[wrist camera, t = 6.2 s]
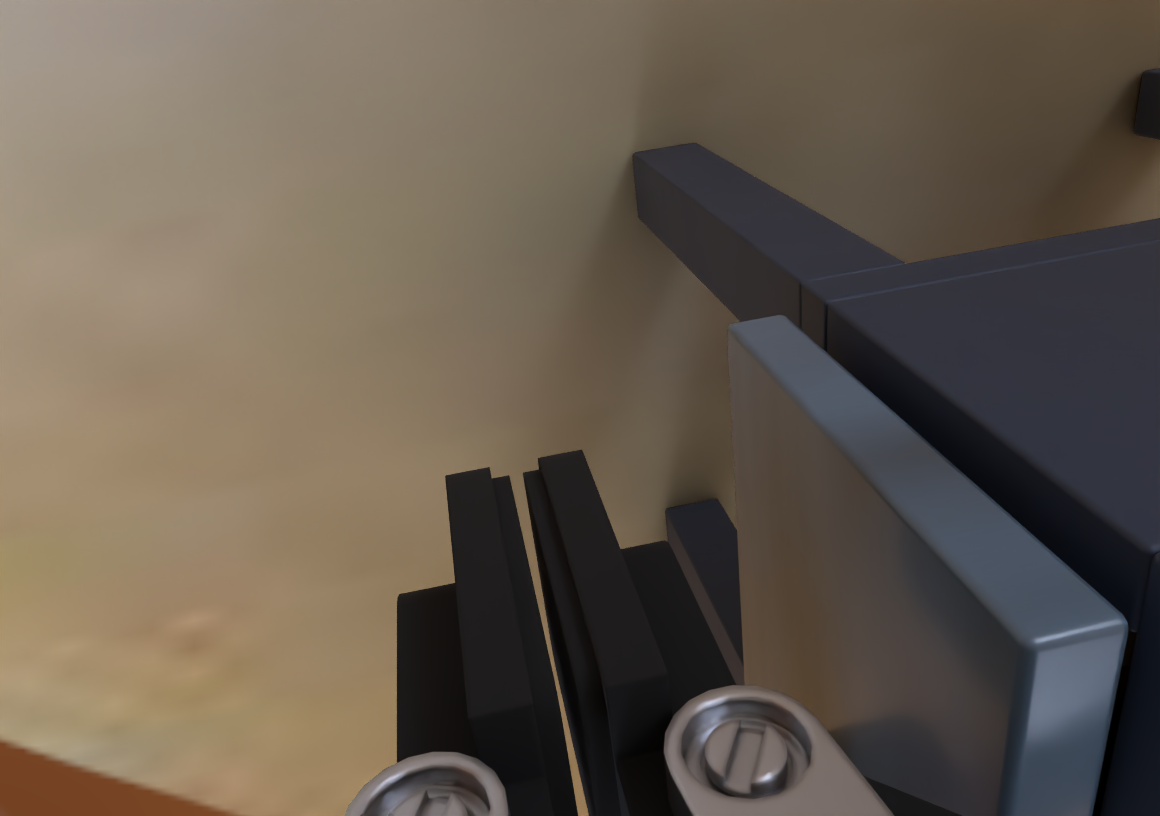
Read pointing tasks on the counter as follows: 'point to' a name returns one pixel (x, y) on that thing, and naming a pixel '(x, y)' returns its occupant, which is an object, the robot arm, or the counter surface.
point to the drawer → (911, 598)
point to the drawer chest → (961, 386)
